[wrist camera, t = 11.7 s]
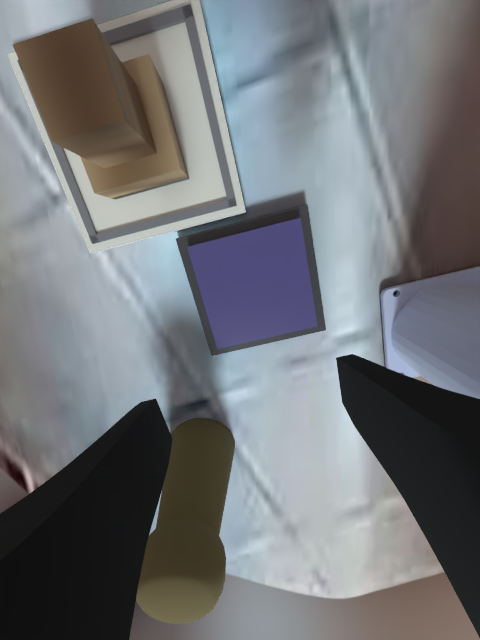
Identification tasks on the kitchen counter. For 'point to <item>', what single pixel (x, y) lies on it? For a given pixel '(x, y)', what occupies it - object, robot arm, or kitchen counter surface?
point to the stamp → (104, 110)
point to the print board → (191, 126)
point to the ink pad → (255, 280)
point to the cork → (189, 526)
